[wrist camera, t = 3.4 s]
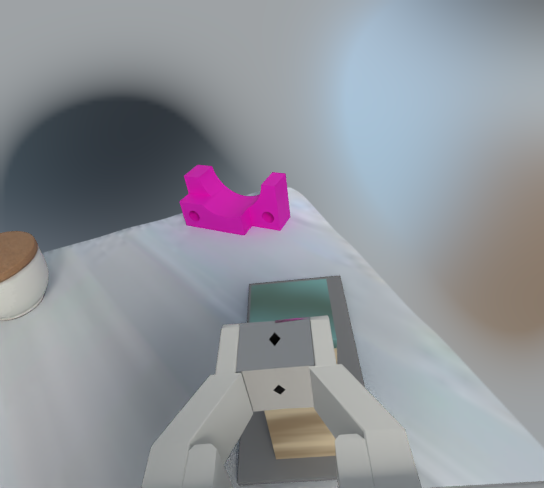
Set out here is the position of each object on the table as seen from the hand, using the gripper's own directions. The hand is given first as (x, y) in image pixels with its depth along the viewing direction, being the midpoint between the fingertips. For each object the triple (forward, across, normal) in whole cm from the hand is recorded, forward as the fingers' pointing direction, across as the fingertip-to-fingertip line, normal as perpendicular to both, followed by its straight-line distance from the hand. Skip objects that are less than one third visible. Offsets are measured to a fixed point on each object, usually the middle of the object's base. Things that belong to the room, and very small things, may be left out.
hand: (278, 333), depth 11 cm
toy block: (+42, +8, +23) cm, 49 cm away
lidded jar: (+28, +36, +23) cm, 51 cm away
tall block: (+9, 0, +23) cm, 25 cm away
